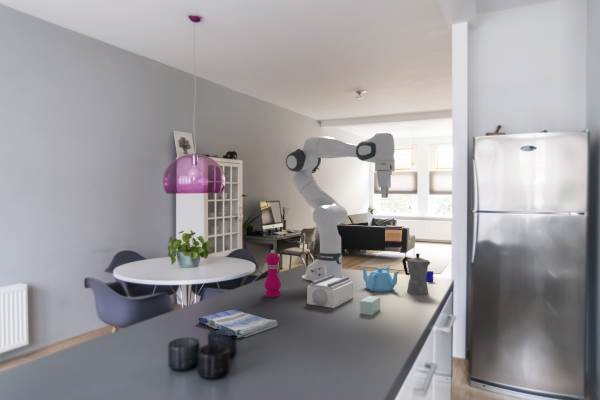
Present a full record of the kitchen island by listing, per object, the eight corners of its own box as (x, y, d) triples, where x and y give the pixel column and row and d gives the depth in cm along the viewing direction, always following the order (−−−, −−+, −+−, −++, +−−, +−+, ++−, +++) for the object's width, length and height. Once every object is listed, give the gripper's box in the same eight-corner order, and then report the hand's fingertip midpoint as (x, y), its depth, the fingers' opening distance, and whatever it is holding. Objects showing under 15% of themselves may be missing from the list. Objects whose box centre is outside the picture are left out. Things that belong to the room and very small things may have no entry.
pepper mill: (282, 293, 182) (282, 248, 181) (279, 297, 174) (279, 251, 174) (266, 293, 182) (266, 248, 182) (263, 297, 175) (263, 250, 175)
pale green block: (360, 314, 150) (360, 300, 150) (371, 307, 160) (371, 294, 160) (371, 316, 148) (371, 302, 148) (382, 309, 158) (382, 296, 158)
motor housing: (306, 304, 164) (306, 281, 164) (331, 293, 182) (331, 273, 182) (332, 308, 157) (332, 285, 157) (355, 296, 176) (355, 276, 176)
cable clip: (417, 278, 216) (417, 267, 216) (426, 278, 216) (426, 267, 216) (424, 283, 204) (424, 271, 204) (433, 283, 204) (433, 271, 204)
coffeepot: (436, 295, 179) (436, 254, 179) (422, 298, 174) (422, 256, 174) (409, 288, 192) (409, 250, 192) (395, 291, 187) (395, 252, 186)
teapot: (368, 294, 181) (368, 271, 181) (359, 286, 196) (359, 265, 196) (400, 293, 183) (400, 270, 183) (389, 285, 198) (389, 264, 198)
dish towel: (239, 340, 124) (239, 331, 124) (196, 324, 140) (196, 315, 140) (280, 327, 137) (280, 318, 137) (236, 313, 153) (236, 306, 153)
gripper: (380, 169, 198) (380, 197, 198) (374, 166, 179) (375, 197, 179) (393, 168, 196) (393, 197, 196) (389, 165, 177) (389, 197, 177)
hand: (384, 197), depth 187 cm, fingers open, 8 cm apart
